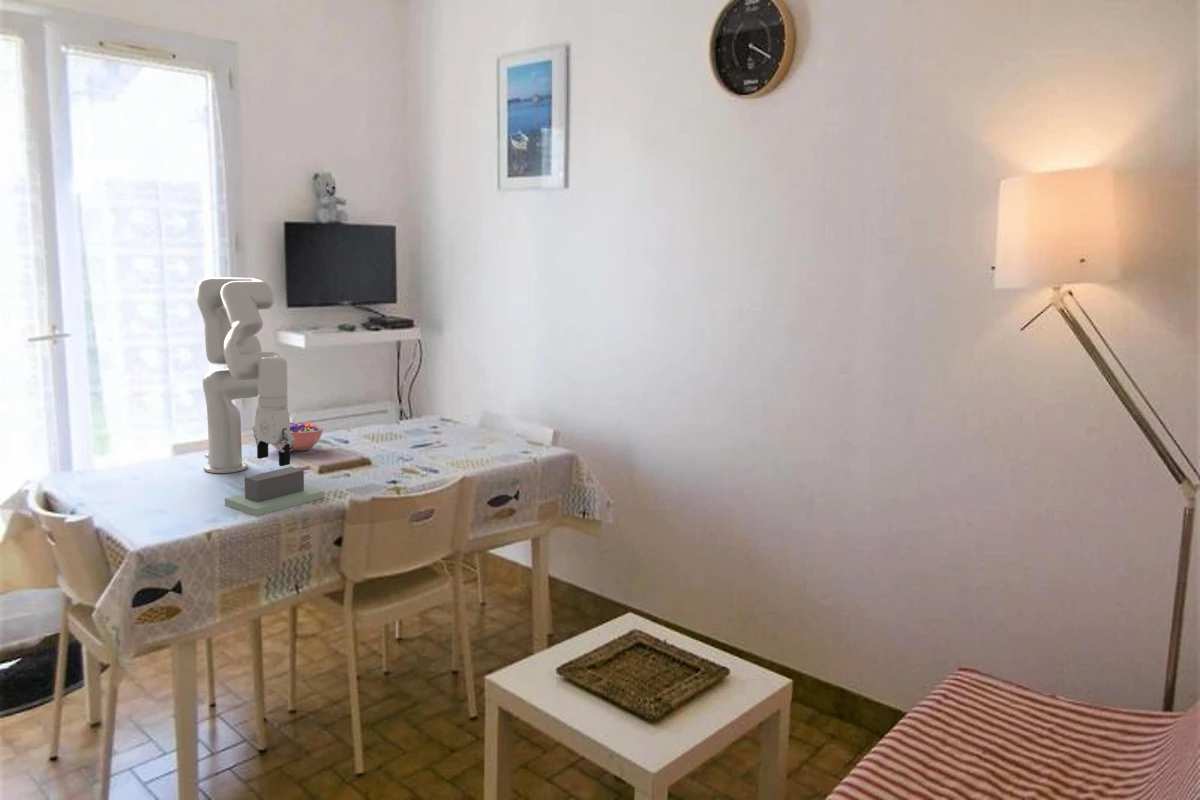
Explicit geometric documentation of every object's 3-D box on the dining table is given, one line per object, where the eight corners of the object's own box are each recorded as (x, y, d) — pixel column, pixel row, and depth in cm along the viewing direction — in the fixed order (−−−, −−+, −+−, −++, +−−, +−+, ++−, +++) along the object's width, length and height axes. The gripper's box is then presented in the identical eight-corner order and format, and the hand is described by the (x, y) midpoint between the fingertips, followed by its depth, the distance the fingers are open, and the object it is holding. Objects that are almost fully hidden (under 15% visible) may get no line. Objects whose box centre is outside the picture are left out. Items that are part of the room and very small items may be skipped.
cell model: (313, 458, 285) (313, 425, 283) (254, 455, 285) (253, 422, 283) (330, 446, 302) (329, 415, 300) (274, 443, 302) (273, 412, 300)
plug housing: (245, 498, 234) (244, 477, 233) (303, 483, 250) (302, 463, 249) (257, 502, 231) (256, 481, 230) (315, 487, 247) (315, 467, 246)
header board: (224, 505, 234) (224, 482, 233) (292, 488, 252) (292, 466, 251) (256, 516, 226) (255, 492, 225) (323, 497, 244) (323, 475, 243)
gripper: (241, 398, 236) (242, 457, 239) (280, 409, 226) (281, 470, 230) (265, 394, 242) (266, 452, 245) (304, 405, 232) (304, 465, 236)
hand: (273, 461), depth 238 cm, fingers open, 9 cm apart
